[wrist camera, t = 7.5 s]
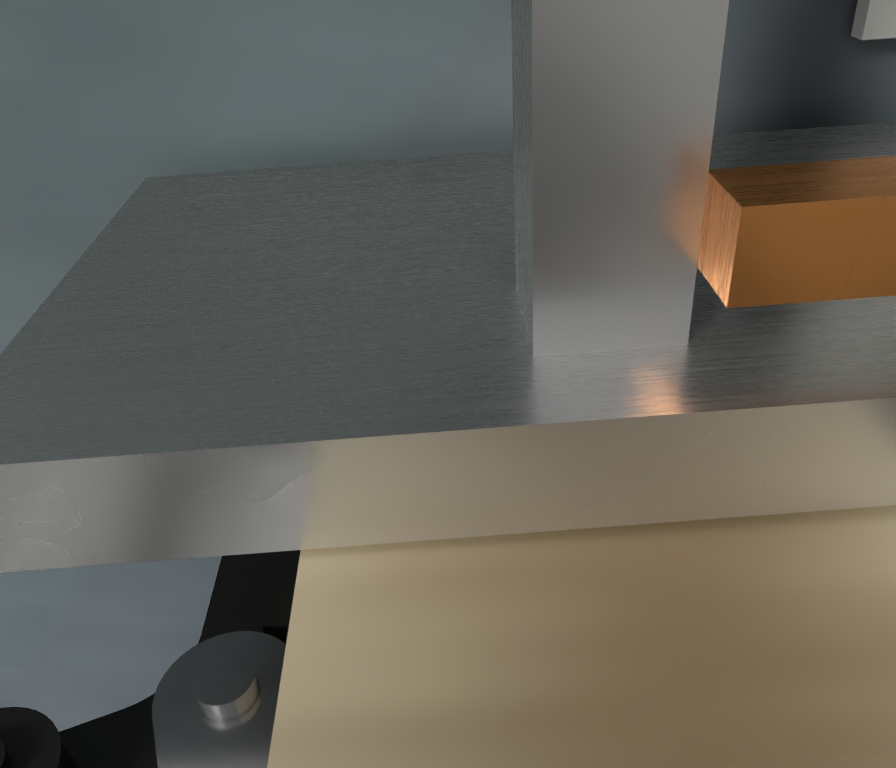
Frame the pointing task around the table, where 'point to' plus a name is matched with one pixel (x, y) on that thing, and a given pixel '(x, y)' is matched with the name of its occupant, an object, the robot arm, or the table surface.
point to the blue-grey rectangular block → (874, 20)
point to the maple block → (599, 648)
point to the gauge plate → (475, 327)
